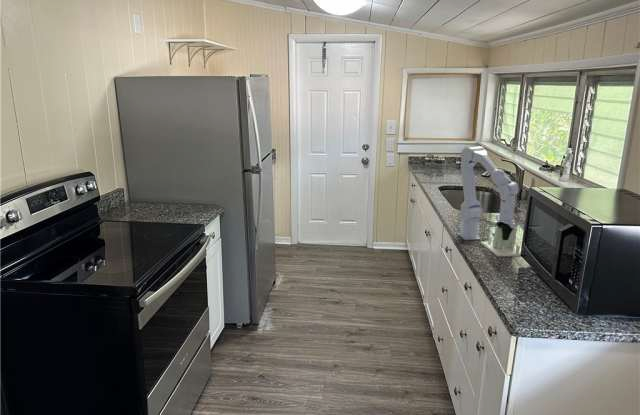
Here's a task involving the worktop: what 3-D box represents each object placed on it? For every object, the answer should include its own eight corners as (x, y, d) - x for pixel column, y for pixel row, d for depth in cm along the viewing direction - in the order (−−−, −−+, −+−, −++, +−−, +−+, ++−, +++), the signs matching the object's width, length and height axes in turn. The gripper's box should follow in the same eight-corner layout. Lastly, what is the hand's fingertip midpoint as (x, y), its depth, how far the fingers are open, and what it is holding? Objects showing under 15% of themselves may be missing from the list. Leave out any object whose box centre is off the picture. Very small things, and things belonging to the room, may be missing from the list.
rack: (480, 243, 205) (481, 235, 204) (507, 242, 206) (508, 234, 205) (497, 256, 189) (498, 247, 188) (526, 255, 190) (527, 246, 189)
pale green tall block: (492, 246, 198) (495, 227, 196) (512, 246, 199) (514, 227, 196) (494, 247, 196) (497, 228, 194) (514, 247, 197) (517, 228, 195)
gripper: (490, 205, 200) (488, 234, 203) (506, 214, 186) (503, 244, 189) (505, 205, 200) (502, 233, 204) (522, 213, 186) (518, 244, 190)
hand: (503, 239), depth 196 cm, fingers closed on pale green tall block, 2 cm apart
